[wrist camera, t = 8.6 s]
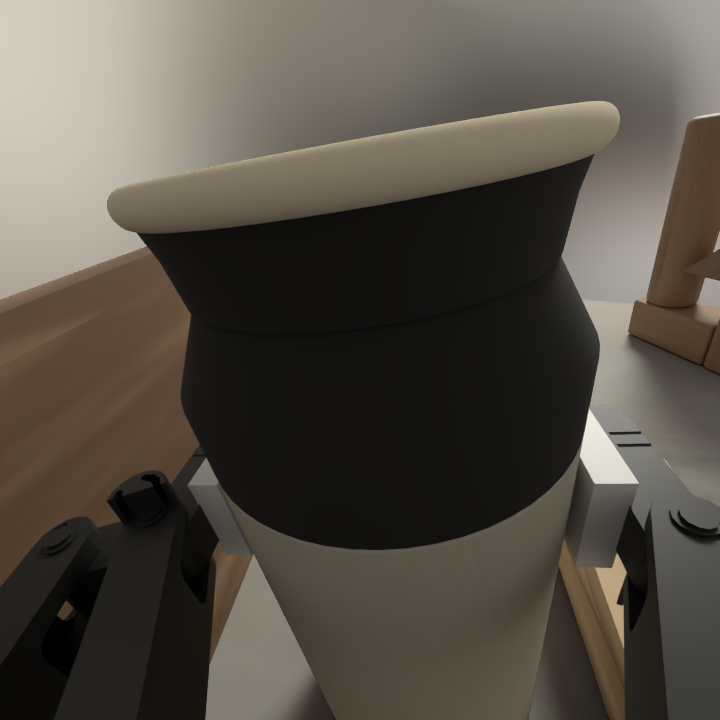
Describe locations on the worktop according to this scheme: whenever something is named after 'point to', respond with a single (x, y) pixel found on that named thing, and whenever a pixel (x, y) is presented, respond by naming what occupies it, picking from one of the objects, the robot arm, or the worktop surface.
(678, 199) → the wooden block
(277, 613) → the worktop surface
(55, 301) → the wooden board
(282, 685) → the worktop surface
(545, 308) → the travel mug
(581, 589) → the offcut stack
